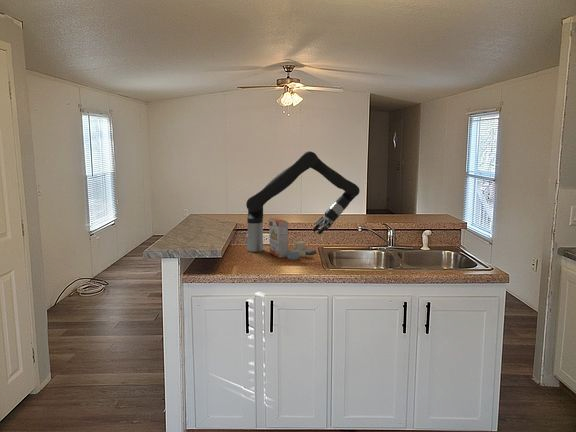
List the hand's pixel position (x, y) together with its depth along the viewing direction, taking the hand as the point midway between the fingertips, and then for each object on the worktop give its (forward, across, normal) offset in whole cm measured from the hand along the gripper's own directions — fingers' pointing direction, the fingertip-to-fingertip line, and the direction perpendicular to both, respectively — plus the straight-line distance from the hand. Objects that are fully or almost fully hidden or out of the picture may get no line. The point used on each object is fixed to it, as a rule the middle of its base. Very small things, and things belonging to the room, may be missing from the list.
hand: (315, 232), depth 281 cm
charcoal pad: (+12, -7, +7) cm, 15 cm away
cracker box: (+24, -6, -5) cm, 25 cm away
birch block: (+16, 0, +2) cm, 16 cm away
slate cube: (+20, +5, -2) cm, 21 cm away
